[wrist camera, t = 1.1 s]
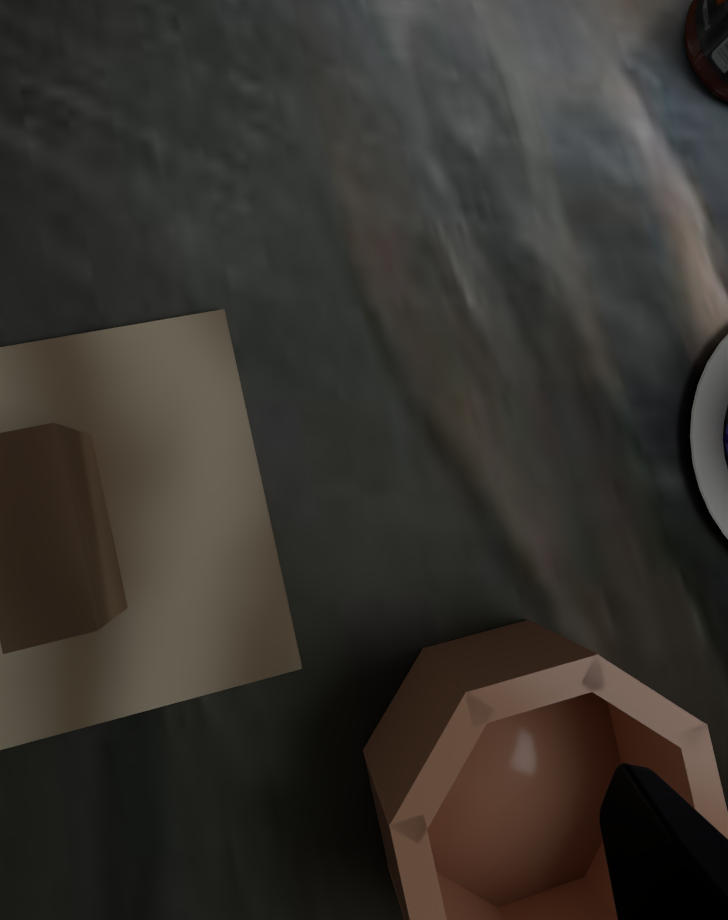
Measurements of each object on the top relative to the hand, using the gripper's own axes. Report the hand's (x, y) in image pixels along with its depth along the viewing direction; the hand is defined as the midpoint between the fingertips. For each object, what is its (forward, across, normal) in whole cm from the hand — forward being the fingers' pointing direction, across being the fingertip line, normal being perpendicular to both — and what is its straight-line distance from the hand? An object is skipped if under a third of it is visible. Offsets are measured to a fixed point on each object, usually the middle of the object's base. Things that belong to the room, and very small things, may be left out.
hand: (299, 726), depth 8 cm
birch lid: (+12, +9, +4) cm, 16 cm away
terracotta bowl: (+11, -8, +10) cm, 17 cm away
